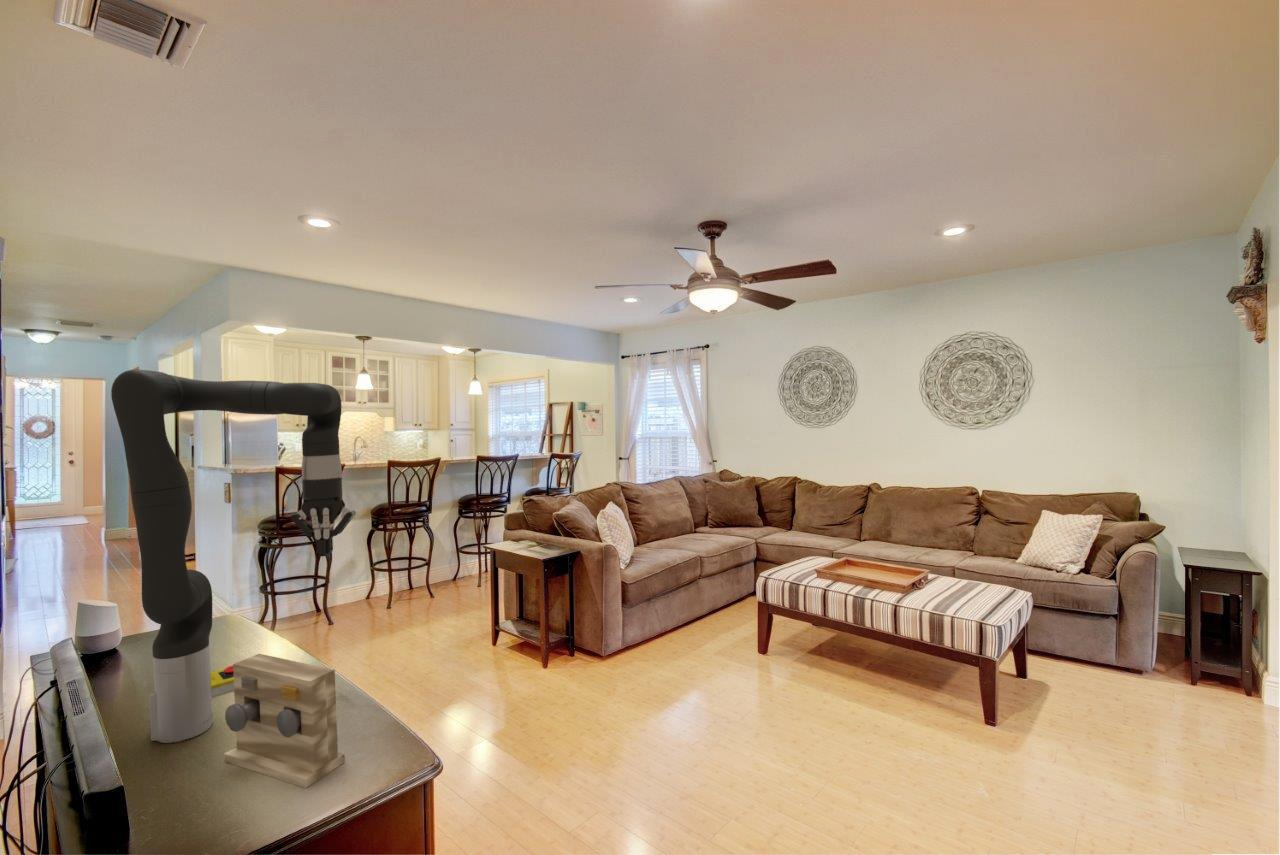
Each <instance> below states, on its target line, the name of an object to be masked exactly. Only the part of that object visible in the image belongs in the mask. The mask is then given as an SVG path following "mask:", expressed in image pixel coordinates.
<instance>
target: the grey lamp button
mask: <svg viewBox="0 0 1280 855" xmlns="http://www.w3.org/2000/svg"><path fill="white" fill-rule="evenodd" d="M224 714H225V715H224V716H225V718H224V719H225V722H226V724H227V727H228V728H229V729H230V730H231V731H233V732H234V733H236V732H238V731H240V730H242V729H243V728H244V727H245V726H246V723H247V721H248V720H250V719H252V718H254V717H256V716H258V715H260V702H259V701H257V700H253V701H251V702H249V703H247V704H244V705H242V706H241V705H239V704H235V703H233V704H231V705H229V706H227V708H226V709H225V713H224Z"/></svg>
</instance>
